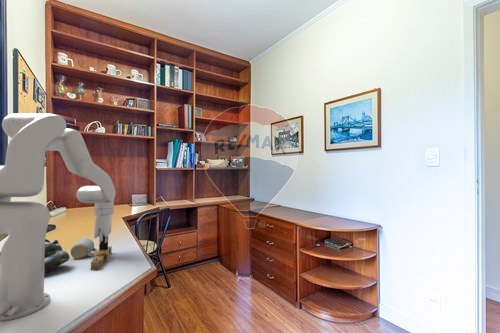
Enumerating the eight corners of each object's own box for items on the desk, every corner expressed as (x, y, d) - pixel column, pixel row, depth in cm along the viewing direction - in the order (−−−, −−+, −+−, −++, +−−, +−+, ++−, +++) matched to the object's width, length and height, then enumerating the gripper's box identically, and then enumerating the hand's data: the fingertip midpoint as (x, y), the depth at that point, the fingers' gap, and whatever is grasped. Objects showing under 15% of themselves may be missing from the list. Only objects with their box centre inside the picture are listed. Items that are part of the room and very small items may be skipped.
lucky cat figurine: (23, 283, 84) (9, 248, 85) (25, 285, 92) (12, 253, 94) (72, 260, 95) (59, 229, 96) (70, 263, 103) (58, 235, 104)
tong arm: (98, 269, 96) (98, 262, 96) (94, 270, 95) (94, 262, 96) (109, 255, 111) (109, 249, 111) (105, 256, 111) (105, 249, 111)
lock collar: (107, 261, 105) (107, 250, 105) (94, 262, 103) (94, 251, 103) (108, 259, 107) (109, 248, 107) (95, 260, 105) (96, 249, 105)
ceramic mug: (68, 260, 106) (69, 243, 106) (76, 254, 113) (76, 238, 114) (95, 258, 109) (96, 242, 109) (101, 252, 117) (101, 237, 117)
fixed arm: (95, 269, 96) (95, 261, 96) (90, 270, 96) (90, 262, 96) (106, 254, 113) (106, 247, 113) (102, 254, 113) (102, 248, 113)
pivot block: (110, 255, 113) (110, 248, 113) (102, 255, 112) (102, 249, 112) (111, 253, 115) (111, 246, 115) (104, 253, 114) (104, 247, 114)
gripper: (99, 209, 114) (98, 246, 114) (89, 214, 100) (88, 257, 100) (116, 208, 116) (116, 245, 116) (109, 214, 102) (108, 256, 102)
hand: (103, 251), depth 108 cm, fingers closed
